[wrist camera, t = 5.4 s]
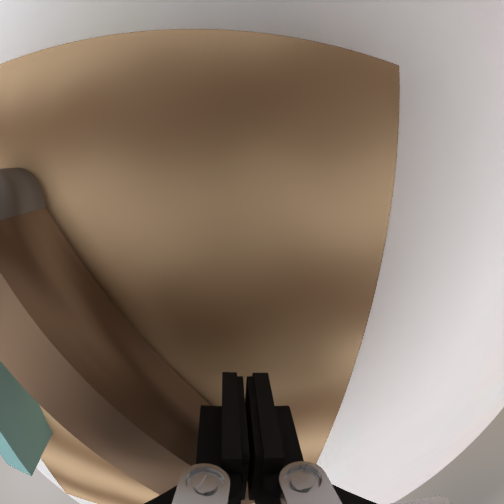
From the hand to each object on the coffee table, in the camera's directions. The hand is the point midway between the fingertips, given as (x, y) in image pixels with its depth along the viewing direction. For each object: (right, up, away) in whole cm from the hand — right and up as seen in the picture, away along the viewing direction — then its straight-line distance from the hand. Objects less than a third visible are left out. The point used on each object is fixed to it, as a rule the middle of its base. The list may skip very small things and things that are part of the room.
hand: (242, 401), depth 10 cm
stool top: (-5, -1, +3) cm, 6 cm away
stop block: (-13, -2, +2) cm, 13 cm away
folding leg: (-6, +2, +1) cm, 6 cm away
